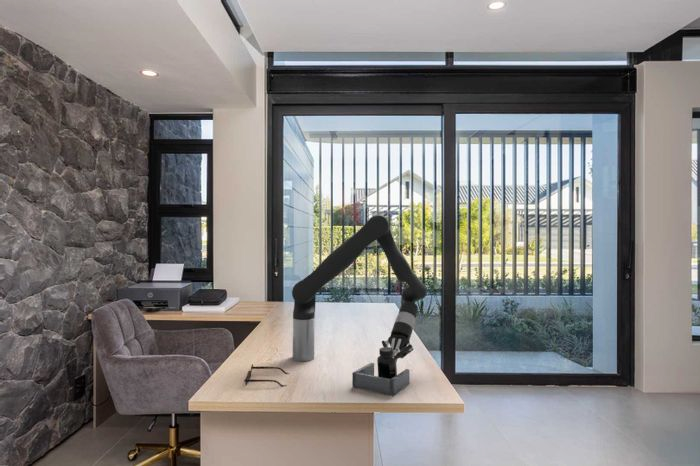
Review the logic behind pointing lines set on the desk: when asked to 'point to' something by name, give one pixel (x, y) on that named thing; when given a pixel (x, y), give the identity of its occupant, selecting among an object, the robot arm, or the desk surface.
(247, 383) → the eyeglasses
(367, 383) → the bracket
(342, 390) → the desk surface
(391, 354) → the supplement bottle
